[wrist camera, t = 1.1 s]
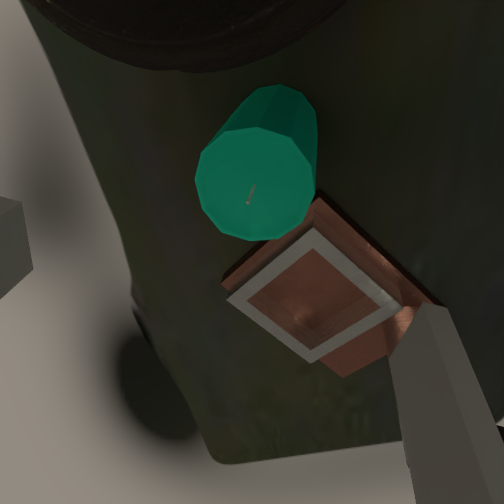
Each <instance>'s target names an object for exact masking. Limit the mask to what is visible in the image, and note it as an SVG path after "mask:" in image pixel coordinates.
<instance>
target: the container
mask: <svg viewBox="0 0 504 504" xmlns="http://www.w3.org/2000/svg"><path fill="white" fill-rule="evenodd" d="M27 1H28V2H29V3H30V4H31V5H32V6H33V7H34V8H35V9H36V10H38V11H39V12H40V13H41V14H42V15H43V16H44V17H45V18H47V19H48V20H49V21H50V22H51V23H53V24H54V25H55V26H57V27H58V28H59V29H61V30H62V31H63V32H65V33H66V34H68V35H69V36H71V37H72V38H74V39H75V40H77V41H79V42H80V43H82V44H84V45H86V46H87V47H89V48H91V49H93V50H95V51H97V52H99V53H101V54H103V55H105V56H107V57H109V58H112V59H114V60H117V61H121V62H124V63H127V64H130V65H133V66H136V67H140V68H144V69H149V70H157V71H159V70H179V71H182V72H189V73H203V72H216V71H223V70H228V69H232V68H235V67H239V66H242V65H245V64H249V63H251V62H254V61H257V60H260V59H262V58H265V57H267V56H269V55H271V54H273V53H275V52H277V51H279V50H281V49H283V48H285V47H287V46H288V45H290V44H292V43H294V42H295V41H297V40H299V39H300V38H302V37H303V36H304V35H306V34H307V33H309V32H310V31H312V30H313V29H315V28H316V27H318V26H319V25H320V24H321V23H323V22H324V21H325V20H326V19H327V18H329V17H330V16H331V15H332V14H333V13H334V12H335V11H337V10H338V9H339V8H340V7H341V6H342V5H343V4H344V3H345V2H346V1H347V0H27Z"/></svg>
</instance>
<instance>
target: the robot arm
mask: <svg viewBox="0 0 504 504" xmlns="http://www.w3.org/2000/svg"><path fill="white" fill-rule="evenodd" d="M32 270H33V265H32V259H31V253H30V247H29V242H28V236H27V230H26V224H25V219H24V213H23V207H22V202H20V201H15V200H12V199H7V198H4V197H0V299H1V298H2V297H3V296H4V295H6V294H7V293H8V292H9V291H10V290H11V289H12V288H13V287H14V286H15V285H17V284H18V283H19V282H20V281H21V280H22V279H23V278H24V277H25V276H26V275H28V274H29V273H30V272H31V271H32ZM389 364H390V369H391V374H392V379H393V384H394V390H395V395H396V400H397V405H398V410H399V416H400V421H401V426H402V431H403V437H404V442H405V447H406V452H407V457H408V463H409V468H410V473H411V477H412V483H413V488H414V494H415V499H416V504H504V427H502V426H498V425H496V423H495V421H494V419H493V416H492V414H491V412H490V409H489V407H488V404H487V402H486V400H485V397H484V395H483V392H482V390H481V388H480V385H479V383H478V381H477V378H476V376H475V373H474V371H473V369H472V366H471V364H470V361H469V359H468V357H467V354H466V352H465V349H464V347H463V345H462V342H461V340H460V338H459V335H458V333H457V330H456V328H455V326H454V323H453V321H452V318H451V316H450V314H449V311H448V309H447V308H446V307H442V306H438V305H434V304H430V303H426V302H423V303H422V304H421V306H420V308H419V309H418V311H417V313H416V314H415V316H414V318H413V319H412V321H411V323H410V324H409V326H408V328H407V329H406V331H405V333H404V334H403V336H402V338H401V339H400V341H399V343H398V344H397V346H396V348H395V349H394V351H393V353H392V354H391V356H390V358H389Z"/></svg>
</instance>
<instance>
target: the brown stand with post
mask: <svg viewBox="0 0 504 504" xmlns="http://www.w3.org/2000/svg"><path fill="white" fill-rule="evenodd" d="M220 284H221V285H222V286H223V287H225V288H226V289H227V290H229V292H228V295H227V299H226V300H227V301H228V302H230V303H231V304H232V305H234V306H235V307H236V308H238V309H239V310H240V311H242V312H243V313H244V314H246V315H247V316H248V317H250V318H251V319H252V320H253V321H255V322H256V323H257V324H259V325H260V326H261V327H263V328H264V329H265V330H267V331H268V332H269V333H271V334H272V335H273V336H275V337H276V338H277V339H279V340H280V341H281V342H283V343H284V344H285V345H286V346H288V347H289V348H290V349H292V350H293V351H294V352H296V353H297V354H298V355H300V356H301V357H302V358H304V359H305V360H306V361H308V362H309V363H310V364H311V363H312V362H314V361H316V360H317V359H319V360H320V361H321V362H322V363H324V364H325V365H326V366H328V367H329V368H330V369H332V370H333V371H334V372H336V373H337V374H338V375H339V376H341V377H342V378H343V377H345V376H347V375H349V374H351V373H353V372H355V371H357V370H359V369H360V368H362V367H364V366H366V365H368V364H370V363H372V362H374V361H376V360H378V359H379V358H381V357H383V356H385V355H388V361H389V358H390V356H391V354H392V353H393V351H394V349H395V348H396V346H397V344H398V343H399V341H400V339H401V338H402V336H403V334H404V333H405V331H406V329H407V328H408V326H409V324H410V323H411V321H412V319H413V318H414V316H415V314H416V313H417V311H418V309H419V308H420V306H421V304H422V303H423V302H426V303H430V304H434V305H438V306H442V307H445V306H444V305H443V304H442V303H441V302H440V301H438V300H437V299H436V298H435V297H434V296H433V295H432V294H431V293H430V292H429V291H428V290H427V289H426V288H425V287H424V286H422V285H421V284H420V283H419V282H418V281H417V280H416V279H415V278H414V277H413V276H412V275H411V274H410V273H409V272H408V271H406V270H405V269H404V268H403V267H402V266H401V265H400V264H399V263H398V262H397V261H396V260H395V259H394V258H393V257H392V256H390V255H389V254H388V253H387V252H386V251H385V250H384V249H383V248H382V247H381V246H380V245H379V244H378V243H377V242H376V241H374V240H373V239H372V238H371V237H370V236H369V235H368V234H367V233H366V232H365V231H364V230H363V229H362V228H361V227H360V226H358V225H357V224H356V223H355V222H354V221H353V220H352V219H351V218H350V217H349V216H348V215H347V214H346V213H345V212H344V211H342V210H341V209H340V208H339V207H338V206H337V205H336V204H335V203H334V202H333V201H332V200H331V199H330V198H329V197H328V196H326V195H325V194H324V193H323V192H322V191H321V190H320V189H319V190H317V191H316V192H315V195H314V197H313V199H312V202H311V204H310V206H309V208H308V211H307V213H306V215H305V217H304V220H303V222H302V223H301V224H300V225H298V226H297V227H295V228H294V229H292V230H291V231H289V232H288V233H286V234H285V235H283V236H282V237H280V238H279V239H271V240H261V241H260V242H259V243H258V244H257V245H256V246H255V247H254V248H252V249H251V250H250V251H249V252H248V253H247V254H246V255H245V256H244V257H242V258H241V259H240V260H239V261H238V262H237V263H236V264H235V265H233V266H232V267H231V268H230V269H229V270H228V271H227V272H226V273H224V275H223V278H222V280H221V283H220ZM389 367H390V364H389ZM390 372H391V369H390ZM391 378H392V374H391ZM392 383H393V379H392ZM393 389H394V384H393ZM394 394H395V390H394ZM395 400H396V395H395ZM396 406H397V411H398V417H399V422H400V428H401V433H402V439H403V444H404V450H405V456H406V461H407V465H408V467H409V463H408V457H407V452H406V447H405V442H404V437H403V431H402V426H401V421H400V416H399V410H398V405H397V400H396Z"/></svg>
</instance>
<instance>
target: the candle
mask: <svg viewBox="0 0 504 504" xmlns="http://www.w3.org/2000/svg"><path fill="white" fill-rule="evenodd" d="M317 142H318V130H317V120H316V111H315V110H314V108H313V107H312V106H311V104H310V103H309V102H308V100H307V99H306V98H305V96H304V95H303V93H302V92H299V91H297V90H294V89H292V88H289V87H287V86H284V85H282V84H277V85H271V86H266V87H261V88H257V89H256V90H255V91H254V92H253V93H252V94H251V95H250V96H249V97H247V98H246V99H245V100H244V101H243V102H242V103H241V104H240V105H239V106H238V108H237V109H236V110H235V111H234V113H233V114H232V115H231V116H230V118H229V119H228V120H227V121H226V122H225V124H224V125H223V126H222V127H221V129H220V130H219V131H218V132H217V134H216V135H215V136H214V137H213V138H212V140H211V141H210V142H209V143H208V145H207V146H206V147H205V148H204V150H203V151H202V152H201V156H200V160H199V164H198V168H197V172H196V176H195V183H196V187H197V191H198V195H199V199H200V203H201V207H202V209H203V211H204V212H205V213H206V214H207V215H208V217H209V218H210V219H211V220H212V222H213V223H214V224H215V225H216V226H217V228H218V229H219V230H220V231H221V232H222V233H225V234H228V235H232V236H235V237H238V238H241V239H245V240H248V241H257V240H271V239H279V238H280V237H282V236H283V235H285V234H286V233H288V232H289V231H291V230H292V229H294V228H295V227H297V226H298V225H300V224H301V223H302V222H303V220H304V217H305V215H306V213H307V211H308V208H309V206H310V204H311V202H312V199H313V197H314V195H315V183H316V162H317Z"/></svg>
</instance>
